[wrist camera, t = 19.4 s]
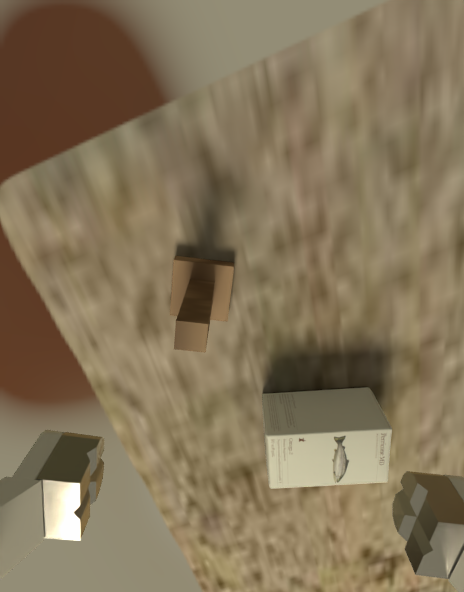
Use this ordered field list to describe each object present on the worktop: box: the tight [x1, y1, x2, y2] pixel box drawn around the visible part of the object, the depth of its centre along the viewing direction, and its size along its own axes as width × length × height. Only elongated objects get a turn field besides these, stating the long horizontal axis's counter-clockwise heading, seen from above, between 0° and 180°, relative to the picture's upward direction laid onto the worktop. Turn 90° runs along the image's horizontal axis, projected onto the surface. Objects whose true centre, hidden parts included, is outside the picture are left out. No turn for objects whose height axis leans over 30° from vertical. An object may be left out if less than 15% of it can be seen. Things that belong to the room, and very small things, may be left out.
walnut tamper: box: [170, 256, 234, 352], centre depth 37 cm, size 6×6×12 cm
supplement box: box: [262, 387, 392, 488], centre depth 44 cm, size 7×7×13 cm
